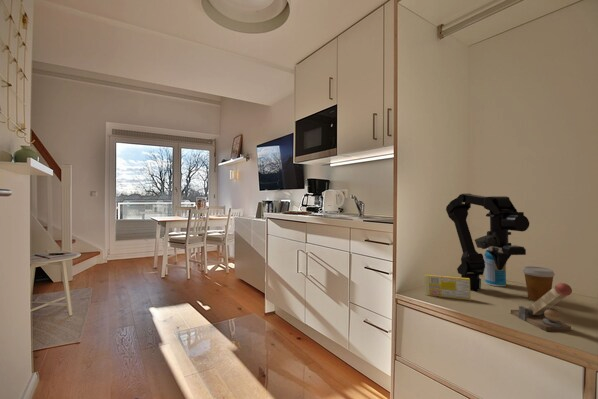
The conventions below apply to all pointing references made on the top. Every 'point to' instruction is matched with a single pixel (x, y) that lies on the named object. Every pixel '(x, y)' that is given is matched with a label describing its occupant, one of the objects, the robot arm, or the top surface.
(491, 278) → the beverage bottle
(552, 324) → the base
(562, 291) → the lever
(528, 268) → the disposable coffee cup
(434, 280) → the candy box
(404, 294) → the top surface
